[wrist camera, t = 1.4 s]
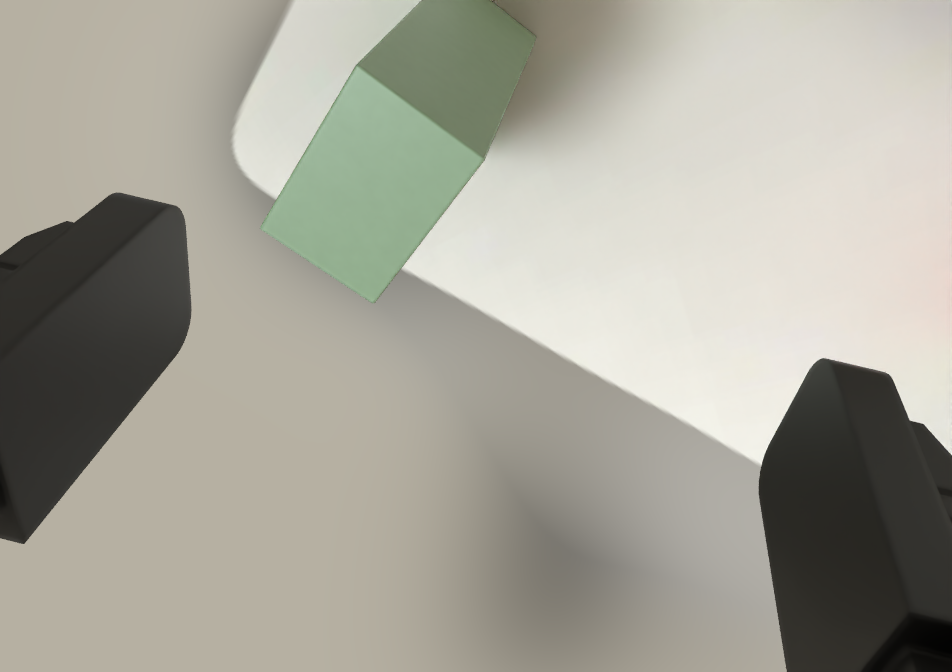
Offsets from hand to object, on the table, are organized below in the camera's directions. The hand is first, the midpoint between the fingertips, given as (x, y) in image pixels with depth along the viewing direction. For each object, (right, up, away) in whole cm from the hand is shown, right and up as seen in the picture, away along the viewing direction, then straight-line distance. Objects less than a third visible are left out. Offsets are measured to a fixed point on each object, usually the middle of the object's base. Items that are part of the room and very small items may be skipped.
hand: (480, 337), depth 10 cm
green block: (-1, +11, +21) cm, 24 cm away
